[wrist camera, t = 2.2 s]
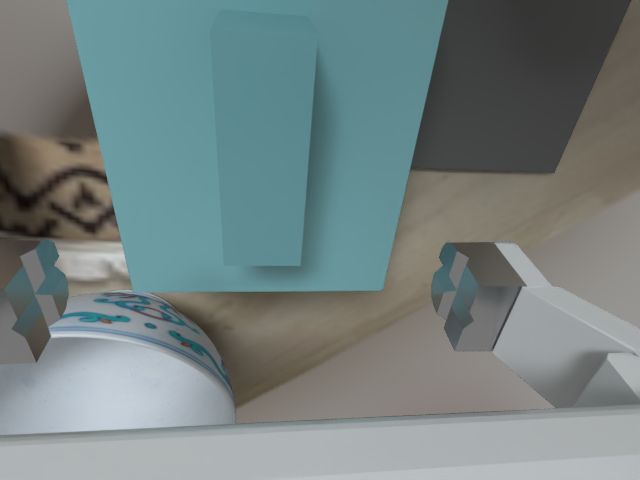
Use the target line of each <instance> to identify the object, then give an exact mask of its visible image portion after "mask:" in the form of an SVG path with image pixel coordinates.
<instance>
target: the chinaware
mask: <svg viewBox="0 0 640 480" xmlns="http://www.w3.org/2000/svg"><path fill="white" fill-rule="evenodd" d="M48 329H49V331H50V334H51V338H50V339H49V341H48V343H47V345H46V347H45V348H44V350H43V352H42V354H41V356H40V357H39V359H38V361H37V363H24V364H6V365H0V435H14V434H35V433H55V432H76V431H97V430H117V429H138V428H159V427H179V426H200V425H220V424H236V410H235V402H234V396H233V391H232V387H231V383H230V379H229V376H228V373H227V370H226V368H225V365H224V363H223V361H222V359H221V356H220V354H219V353H218V351H217V349H216V347H215V346H214V344H213V343H212V341H211V340H210V339H209V337H208V336H207V335H206V334H205V333H204V332H203V330H202V329H201V328H200V327H199V326H198V325H197V324H195V323H194V322H193V321H192V320H191V319H190V318H188V317H187V316H186V315H184V314H183V313H181V312H180V311H178V310H176V309H175V308H174V307H173V306H172V305H171V304H169V303H168V302H167V301H165V300H163V299H162V298H160V297H158V296H155V295H153V294H150V293H146V292H141V293H133V290H117V291H111V292H105V293H92V294H85V295H79V296H74V297H70V298H68V301H67V306H66V310H65V311H64V313H63V315H62V317H61V319H60V320H59V321H57V322H56V323H54V324H53V325H51V326H49V327H48Z"/></svg>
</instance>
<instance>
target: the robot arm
mask: <svg viewBox="0 0 640 480" xmlns="http://www.w3.org/2000/svg"><path fill="white" fill-rule="evenodd" d="M58 257H59V255H58V253H57V250H56V247H55V245H54V243H53V242H52V241H50V240H49V239H37V238H0V365H6V364H24V363H37V361H38V359H39V357H40V356H41V354H42V352H43V350H44V348H45V347H46V345H47V343H48V341H49V339H50V338H51V334H50V331H49V329H48V327H49V326H51V325H53V324H54V323H56V322H57V321H59V320H60V319H61V317H62V315H63V313H64V311H65V310H66V306H67V301H68V296H69V293H68V283H67V280H66V277H65V274H64V273H63V272H61V271H60V270H59V269H58V268H56V267H55V266H54V264H55V262H56V261H57V259H58ZM439 258H440V260H441V262H442V264H443V266H442V267H441V268H440V269H439V270H438V271H436V272H435V273H434V277H433V281H432V285H431V297H432V301H433V305H434V308H435V310H436V312H437V314H438V315H440V316H441V317H443V318H444V319H446V323H445V327H444V329H445V331H446V334H447V336H448V338H449V340H450V342H451V344H452V346H453V348H454V350H455V351H493V352H492V353H493V354H494V355H495V356H496V357H497V358H498V359H500V360H501V361H502V362H503V363H504V364H506V365H507V366H508V367H509V368H510V369H511V370H512V371H513V372H515V373H516V374H517V375H518V376H519V377H520V378H522V379H523V380H524V381H525V382H526V383H527V384H529V385H530V386H531V387H532V388H533V389H534V390H536V391H537V392H538V393H539V394H540V395H541V396H543V397H544V398H545V399H546V400H547V401H548V402H549V403H551V404H552V405H553V406H554V407H555V408H553V409H532V410H512V411H491V412H472V413H449V414H429V415H408V416H388V417H387V416H386V417H366V418H345V419H324V420H303V421H284V422H283V421H282V422H262V423H241V424H220V425H200V426H179V427H159V428H138V429H117V430H97V431H76V432H55V433H35V434H14V435H0V480H640V329H639V328H638V327H636V326H634V325H632V324H630V323H628V322H626V321H624V320H622V319H620V318H618V317H616V316H614V315H613V314H610V313H609V312H607V311H605V310H603V309H601V308H599V307H597V306H595V305H593V304H592V303H590V302H588V301H586V300H584V299H582V298H580V297H578V296H576V295H574V294H572V293H570V292H568V291H566V290H565V289H562V288H561V287H552V286H551V284H550V283H549V282H548V281H547V280H546V279H545V277H544V276H543V275H542V274H541V273H540V272H539V270H538V269H537V268H536V267H535V266H534V264H533V263H532V262H531V261H530V260H529V259H528V258H527V256H526V255H525V254H524V253H523V251H522V250H521V249H520V248H519V247H518V246H517V244H515V243H513V242H511V241H502V242H460V243H445V245H444V246H443V248H442V250H441V253H440V256H439Z"/></svg>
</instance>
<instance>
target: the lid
mask: <svg viewBox="0 0 640 480" xmlns="http://www.w3.org/2000/svg"><path fill="white" fill-rule="evenodd" d="M447 4H448V0H67V5H68V9H69V13H70V18H71V22H72V27H73V31H74V35H75V39H76V44H77V48H78V53H79V57H80V61H81V66H82V70H83V75H84V79H85V83H86V88H87V92H88V97H89V100H90V105H91V109H92V114H93V118H94V123H95V127H96V131H97V136H98V140H99V145H100V149H101V153H102V158H103V162H104V166H105V171H106V175H107V180H108V184H109V188H110V193H111V197H112V201H113V206H114V210H115V215H116V219H117V223H118V228H119V232H120V236H121V241H122V245H123V250H124V254H125V258H126V263H127V267H128V271H129V276H130V280H131V284H132V289H133V293H141V292H279V291H382V290H383V286H384V281H385V277H386V272H387V268H388V264H389V259H390V255H391V250H392V246H393V242H394V237H395V233H396V228H397V224H398V220H399V215H400V211H401V206H402V202H403V198H404V193H405V189H406V184H407V180H408V176H409V171H410V167H411V162H412V158H413V154H414V149H415V145H416V140H417V136H418V132H419V127H420V123H421V118H422V114H423V110H424V105H425V101H426V96H427V92H428V88H429V83H430V79H431V74H432V70H433V66H434V61H435V57H436V52H437V48H438V44H439V39H440V35H441V30H442V26H443V22H444V17H445V13H446V8H447Z"/></svg>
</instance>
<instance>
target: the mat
mask: <svg viewBox="0 0 640 480" xmlns="http://www.w3.org/2000/svg"><path fill="white" fill-rule="evenodd" d="M630 2H631V0H448V4H447V8H446V13H445V17H444V22H443V26H442V30H441V35H440V39H439V44H438V48H437V52H436V57H435V61H434V66H433V70H432V74H431V79H430V83H429V88H428V92H427V96H426V101H425V105H424V110H423V114H422V118H421V123H420V127H419V132H418V136H417V140H416V145H415V149H414V154H413V158H412V162H411V167H410V168H424V169H455V170H486V171H517V172H548V173H554V172H555V170H556V168H557V165H558V163H559V161H560V159H561V157H562V154H563V152H564V150H565V148H566V145H567V143H568V141H569V139H570V136H571V134H572V132H573V130H574V127H575V125H576V123H577V121H578V118H579V116H580V114H581V112H582V109H583V107H584V105H585V103H586V100H587V98H588V96H589V94H590V91H591V89H592V87H593V85H594V82H595V80H596V78H597V76H598V73H599V71H600V69H601V67H602V65H603V62H604V60H605V58H606V56H607V53H608V51H609V49H610V47H611V44H612V42H613V40H614V38H615V35H616V33H617V31H618V29H619V26H620V24H621V22H622V20H623V17H624V15H625V13H626V11H627V8H628V6H629V4H630Z"/></svg>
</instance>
